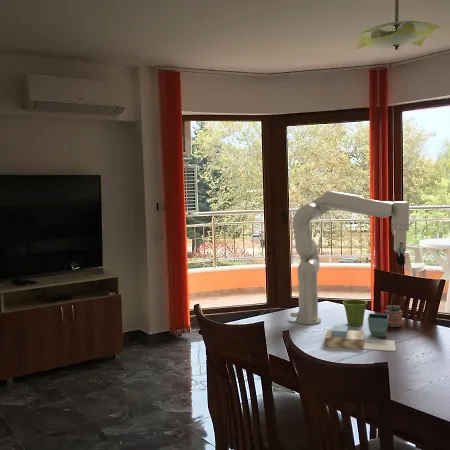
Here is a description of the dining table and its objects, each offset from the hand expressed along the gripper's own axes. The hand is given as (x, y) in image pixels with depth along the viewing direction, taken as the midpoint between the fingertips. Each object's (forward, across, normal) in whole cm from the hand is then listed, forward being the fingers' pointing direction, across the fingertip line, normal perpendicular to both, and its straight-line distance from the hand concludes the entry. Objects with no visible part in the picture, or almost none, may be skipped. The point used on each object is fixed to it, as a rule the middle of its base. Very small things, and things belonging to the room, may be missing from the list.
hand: (400, 263), depth 243 cm
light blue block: (+26, +31, -28) cm, 49 cm away
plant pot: (+31, -1, -21) cm, 38 cm away
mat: (+31, +32, -11) cm, 46 cm away
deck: (+31, +31, -26) cm, 51 cm away
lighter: (+31, -1, -3) cm, 31 cm away
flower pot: (+31, +17, -11) cm, 37 cm away
